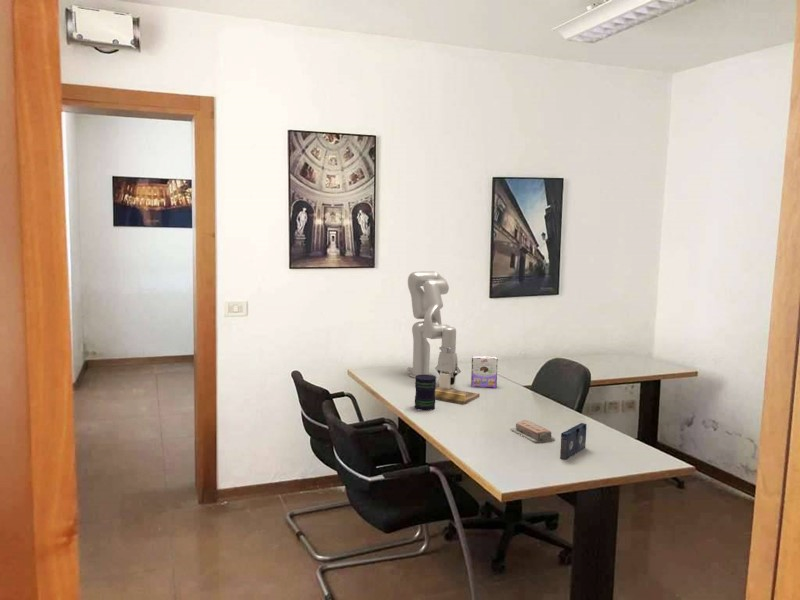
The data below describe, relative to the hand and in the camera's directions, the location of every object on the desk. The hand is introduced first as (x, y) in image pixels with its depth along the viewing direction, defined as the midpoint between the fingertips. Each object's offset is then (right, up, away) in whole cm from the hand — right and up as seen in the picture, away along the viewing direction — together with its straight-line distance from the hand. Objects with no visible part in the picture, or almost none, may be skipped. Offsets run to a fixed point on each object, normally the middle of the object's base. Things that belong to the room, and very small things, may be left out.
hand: (447, 383), depth 347 cm
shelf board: (0, -4, -18) cm, 19 cm away
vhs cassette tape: (+42, -15, -96) cm, 106 cm away
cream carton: (0, -2, 0) cm, 2 cm away
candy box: (+20, -3, +5) cm, 21 cm away
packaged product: (+30, -13, -76) cm, 83 cm away
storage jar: (-14, -7, -39) cm, 42 cm away
